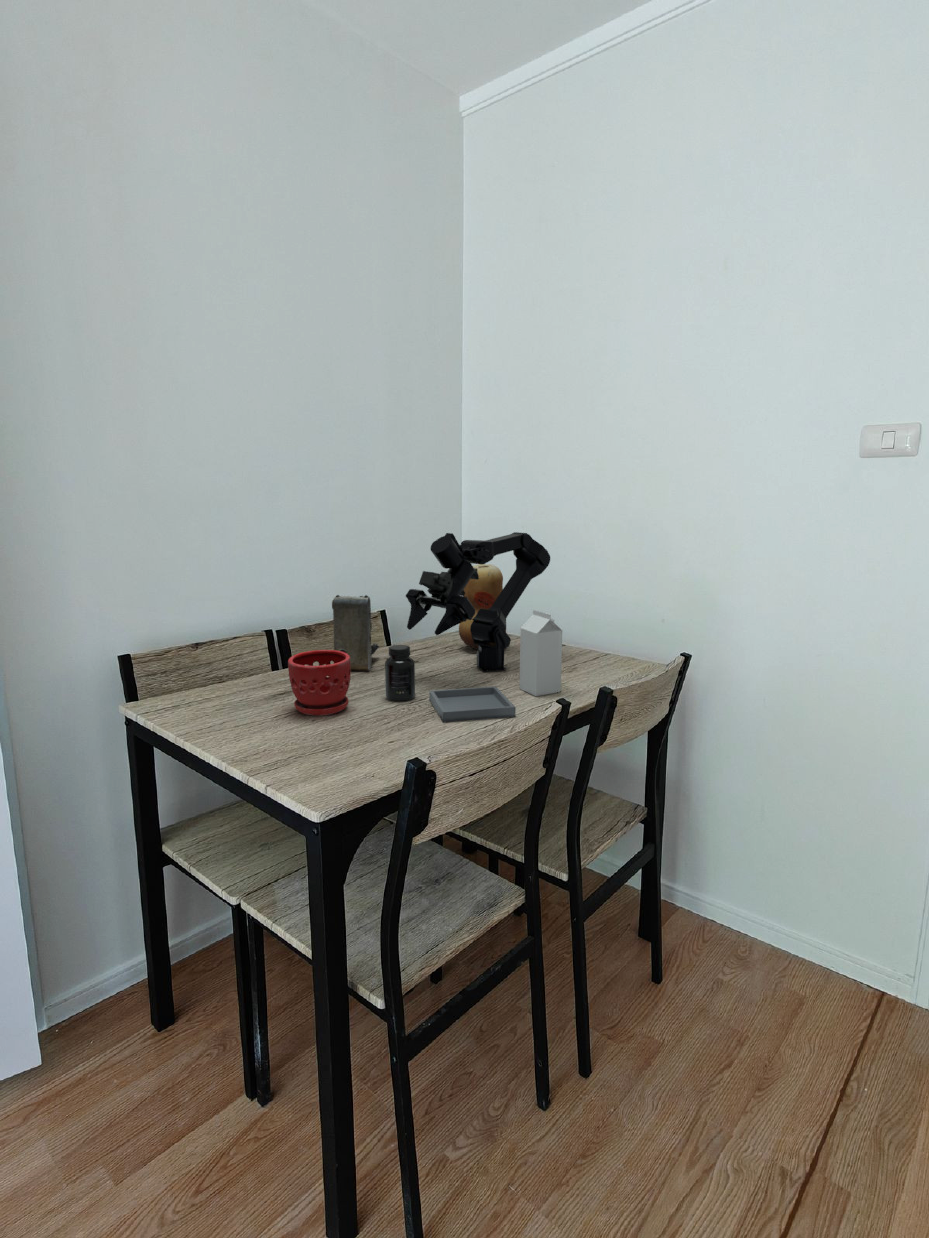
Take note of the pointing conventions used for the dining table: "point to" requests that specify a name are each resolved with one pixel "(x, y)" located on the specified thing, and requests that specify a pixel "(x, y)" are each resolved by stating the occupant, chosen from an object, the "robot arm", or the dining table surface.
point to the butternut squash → (481, 596)
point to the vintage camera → (354, 630)
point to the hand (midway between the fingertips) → (421, 631)
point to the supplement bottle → (399, 674)
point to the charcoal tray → (471, 704)
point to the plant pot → (320, 681)
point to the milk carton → (540, 655)
